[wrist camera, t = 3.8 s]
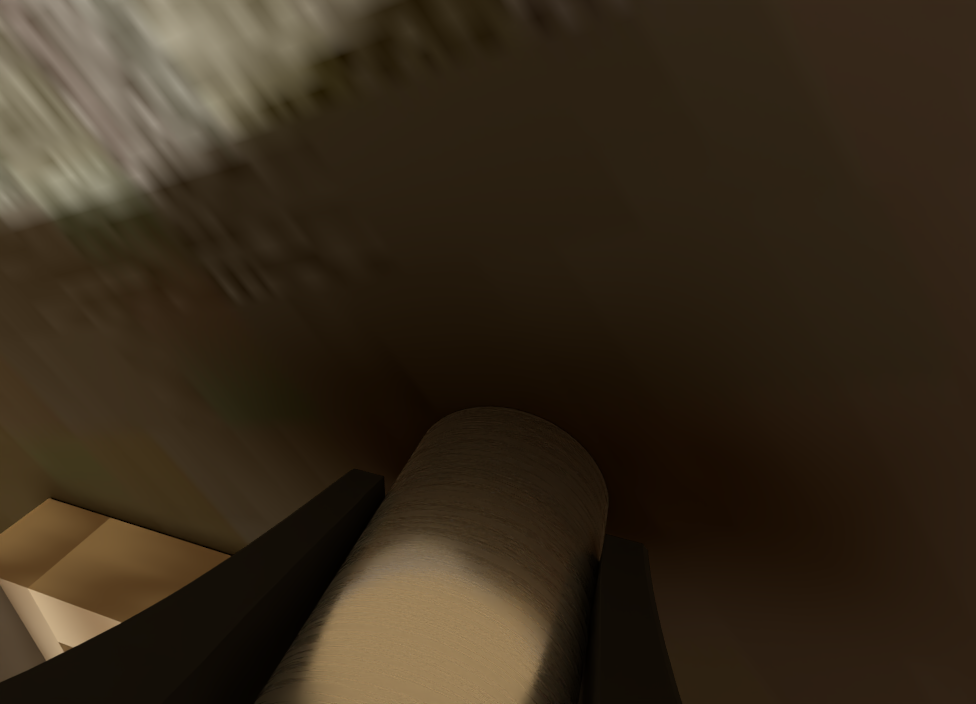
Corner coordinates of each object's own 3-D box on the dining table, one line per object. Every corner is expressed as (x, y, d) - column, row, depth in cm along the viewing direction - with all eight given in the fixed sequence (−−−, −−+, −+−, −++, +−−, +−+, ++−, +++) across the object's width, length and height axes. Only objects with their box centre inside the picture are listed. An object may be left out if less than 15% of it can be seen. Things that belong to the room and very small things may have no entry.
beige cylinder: (625, 433, 10) (567, 847, 5) (592, 581, 12) (527, 981, 7) (414, 387, 11) (181, 697, 6) (416, 532, 13) (246, 854, 8)
